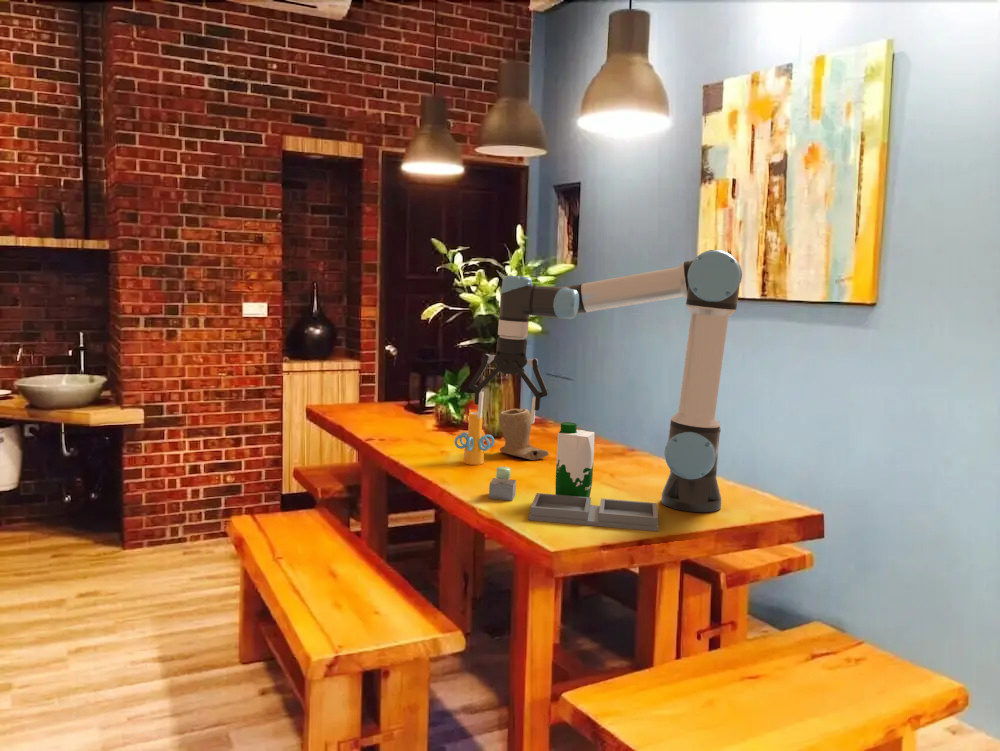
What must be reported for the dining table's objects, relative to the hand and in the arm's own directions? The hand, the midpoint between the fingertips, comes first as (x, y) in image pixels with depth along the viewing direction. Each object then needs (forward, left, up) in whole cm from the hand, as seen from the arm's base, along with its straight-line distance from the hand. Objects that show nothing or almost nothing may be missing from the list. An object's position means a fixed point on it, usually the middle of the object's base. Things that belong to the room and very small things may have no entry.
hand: (505, 420), depth 225 cm
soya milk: (-18, 0, -20) cm, 27 cm away
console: (0, +1, -20) cm, 20 cm away
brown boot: (+2, -49, -20) cm, 53 cm away
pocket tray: (-24, +13, -20) cm, 34 cm away
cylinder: (+14, -35, -20) cm, 42 cm away
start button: (0, +1, -15) cm, 15 cm away
